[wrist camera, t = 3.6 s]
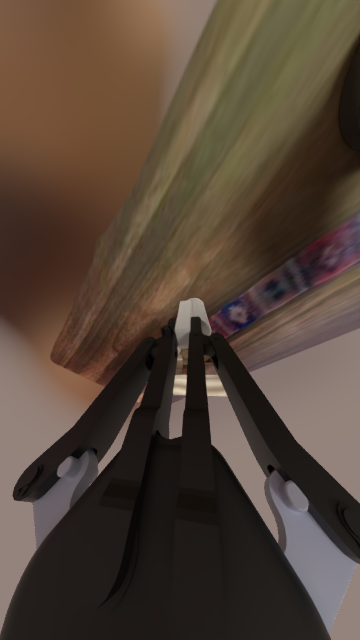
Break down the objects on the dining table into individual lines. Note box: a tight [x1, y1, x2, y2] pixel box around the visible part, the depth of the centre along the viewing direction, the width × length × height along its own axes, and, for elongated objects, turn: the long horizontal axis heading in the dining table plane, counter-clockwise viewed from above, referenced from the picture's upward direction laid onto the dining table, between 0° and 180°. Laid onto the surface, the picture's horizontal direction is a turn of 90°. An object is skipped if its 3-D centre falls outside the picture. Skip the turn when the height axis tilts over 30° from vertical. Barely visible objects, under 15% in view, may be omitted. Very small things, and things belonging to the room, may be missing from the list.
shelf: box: [173, 348, 227, 396], centre depth 42 cm, size 8×16×15 cm, turn 98°
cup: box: [187, 298, 211, 336], centre depth 34 cm, size 8×8×12 cm
